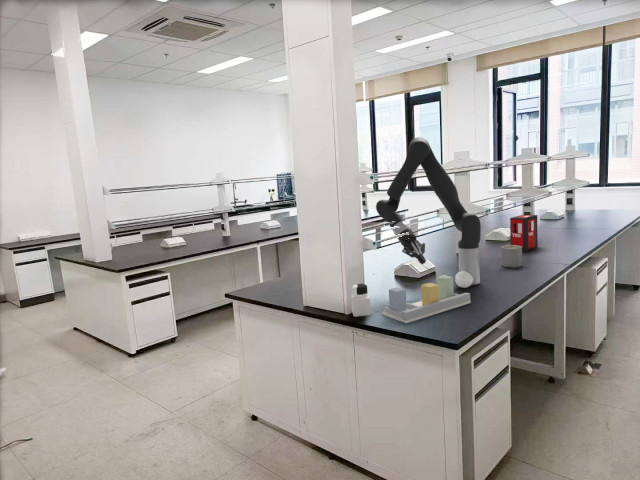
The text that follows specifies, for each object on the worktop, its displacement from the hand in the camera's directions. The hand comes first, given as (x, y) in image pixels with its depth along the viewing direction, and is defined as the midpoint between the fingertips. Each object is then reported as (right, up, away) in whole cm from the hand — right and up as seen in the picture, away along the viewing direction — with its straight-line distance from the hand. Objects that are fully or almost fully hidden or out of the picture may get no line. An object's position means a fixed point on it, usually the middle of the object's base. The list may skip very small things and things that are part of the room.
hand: (423, 262), depth 200 cm
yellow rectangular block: (-2, -17, -19) cm, 25 cm away
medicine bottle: (-29, -20, -16) cm, 39 cm away
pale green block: (+7, -14, -8) cm, 18 cm away
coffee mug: (+58, -3, +44) cm, 73 cm away
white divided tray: (-2, -18, -17) cm, 24 cm away
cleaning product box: (+82, +5, +83) cm, 116 cm away
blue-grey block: (-15, -18, -21) cm, 32 cm away
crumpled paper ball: (+21, -12, +9) cm, 25 cm away
